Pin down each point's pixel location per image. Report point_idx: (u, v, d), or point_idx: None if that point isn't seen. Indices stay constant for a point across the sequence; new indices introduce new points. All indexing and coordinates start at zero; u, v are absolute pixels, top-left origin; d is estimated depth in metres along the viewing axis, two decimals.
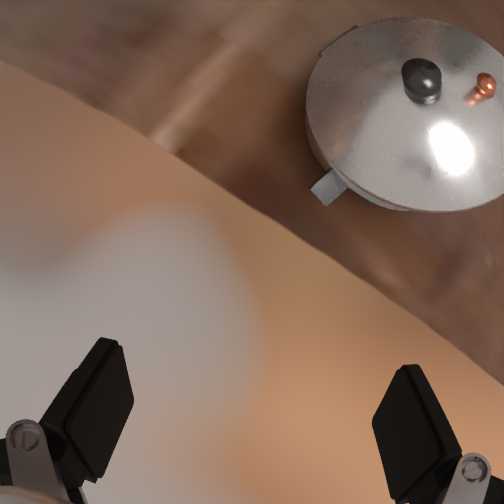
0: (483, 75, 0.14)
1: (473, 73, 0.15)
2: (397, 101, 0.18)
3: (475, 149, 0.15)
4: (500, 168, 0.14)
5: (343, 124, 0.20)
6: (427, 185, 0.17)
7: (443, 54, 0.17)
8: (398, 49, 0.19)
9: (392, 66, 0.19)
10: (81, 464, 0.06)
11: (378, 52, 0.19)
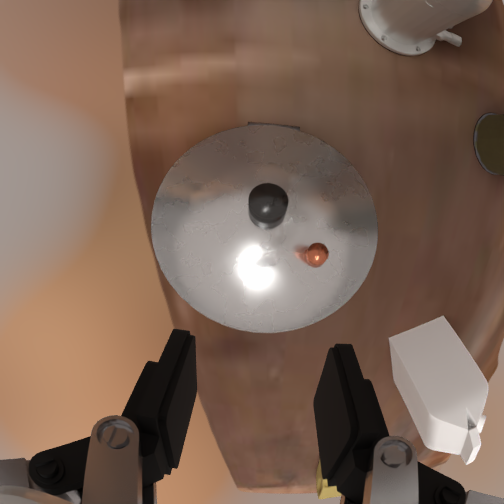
0: (322, 247, 0.22)
1: (324, 239, 0.24)
2: (238, 202, 0.25)
3: (244, 283, 0.23)
4: (246, 311, 0.22)
5: (189, 182, 0.25)
6: (184, 268, 0.23)
7: (322, 205, 0.25)
8: (296, 171, 0.26)
9: (272, 177, 0.26)
10: (164, 455, 0.07)
11: (279, 159, 0.26)
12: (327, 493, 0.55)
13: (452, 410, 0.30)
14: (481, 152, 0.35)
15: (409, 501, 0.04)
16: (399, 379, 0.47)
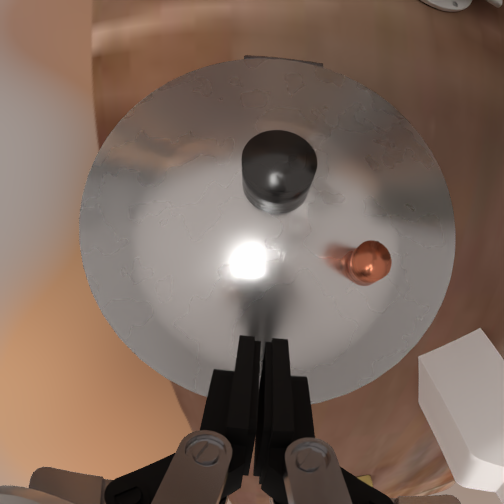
0: (379, 249, 0.11)
1: (377, 233, 0.13)
2: (224, 167, 0.14)
3: (234, 317, 0.12)
4: None
5: (146, 139, 0.14)
6: (125, 287, 0.12)
7: (370, 176, 0.14)
8: (322, 120, 0.15)
9: (284, 127, 0.14)
10: None
11: (295, 103, 0.15)
12: None
13: (497, 448, 0.19)
14: None
15: None
16: (428, 404, 0.36)
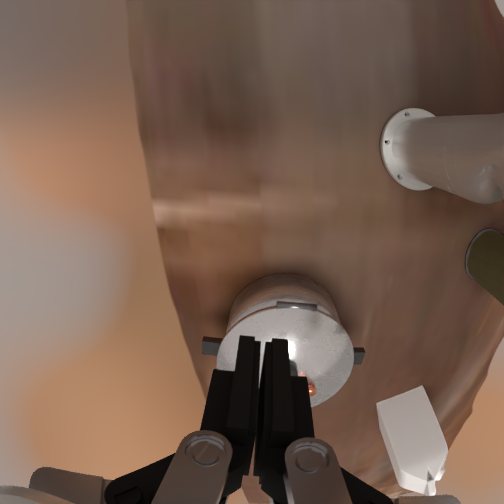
0: (313, 390, 0.39)
1: (316, 379, 0.40)
2: None
3: None
4: None
5: None
6: None
7: (320, 363, 0.39)
8: (307, 344, 0.38)
9: (291, 348, 0.39)
10: None
11: (297, 337, 0.38)
12: None
13: (417, 466, 0.39)
14: (470, 269, 0.44)
15: None
16: (383, 432, 0.56)
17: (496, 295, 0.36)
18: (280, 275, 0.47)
